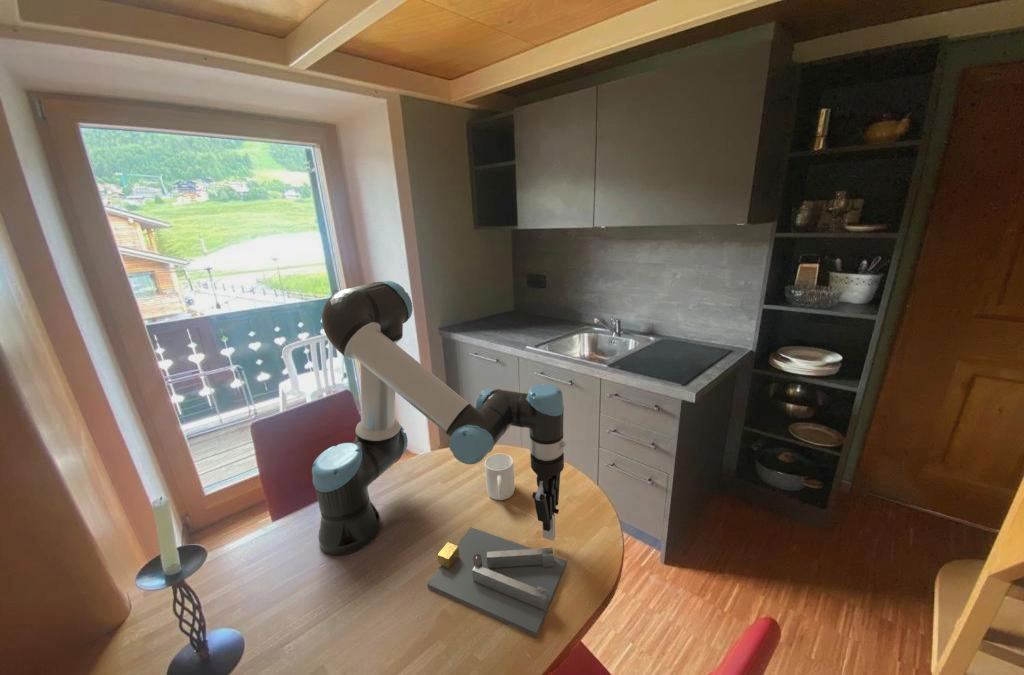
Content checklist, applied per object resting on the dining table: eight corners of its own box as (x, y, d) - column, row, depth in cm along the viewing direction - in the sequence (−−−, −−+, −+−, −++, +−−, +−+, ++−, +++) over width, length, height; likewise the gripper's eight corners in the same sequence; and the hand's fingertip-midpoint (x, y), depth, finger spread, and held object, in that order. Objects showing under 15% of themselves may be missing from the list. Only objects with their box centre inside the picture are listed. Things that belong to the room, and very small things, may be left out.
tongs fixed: (469, 580, 86) (468, 564, 85) (477, 568, 89) (475, 552, 88) (545, 611, 78) (544, 594, 77) (551, 597, 81) (550, 581, 80)
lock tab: (438, 564, 90) (437, 554, 89) (448, 551, 93) (447, 542, 93) (449, 568, 89) (448, 559, 88) (459, 555, 92) (458, 546, 91)
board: (427, 588, 86) (427, 583, 86) (470, 530, 101) (470, 527, 101) (536, 637, 75) (536, 632, 74) (566, 564, 90) (566, 560, 90)
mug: (516, 509, 108) (514, 477, 105) (486, 511, 108) (484, 479, 105) (513, 481, 120) (512, 452, 117) (487, 483, 119) (484, 454, 116)
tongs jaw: (487, 570, 88) (486, 560, 87) (487, 562, 90) (486, 551, 89) (553, 566, 88) (553, 555, 87) (552, 557, 90) (552, 547, 89)
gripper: (552, 472, 80) (554, 563, 87) (571, 440, 92) (572, 523, 98) (519, 464, 84) (523, 552, 90) (542, 434, 95) (544, 514, 102)
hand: (549, 537), depth 94 cm, fingers closed
